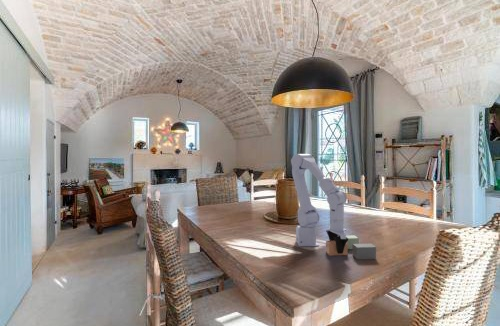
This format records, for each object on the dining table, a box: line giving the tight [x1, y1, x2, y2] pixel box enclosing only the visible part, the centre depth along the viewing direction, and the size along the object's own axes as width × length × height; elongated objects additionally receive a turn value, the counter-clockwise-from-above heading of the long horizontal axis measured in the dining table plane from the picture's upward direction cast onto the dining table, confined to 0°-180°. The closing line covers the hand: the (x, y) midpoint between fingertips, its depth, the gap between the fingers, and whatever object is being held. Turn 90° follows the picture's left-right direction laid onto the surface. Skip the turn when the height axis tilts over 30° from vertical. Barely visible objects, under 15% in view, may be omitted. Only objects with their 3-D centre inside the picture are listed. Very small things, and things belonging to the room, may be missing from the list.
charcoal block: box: [352, 243, 377, 260], centre depth 104 cm, size 8×4×5 cm, turn 92°
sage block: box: [346, 234, 360, 250], centre depth 115 cm, size 8×4×5 cm, turn 92°
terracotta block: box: [325, 240, 349, 256], centre depth 108 cm, size 8×4×5 cm, turn 91°
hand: (336, 249), depth 108 cm, fingers open, 7 cm apart
